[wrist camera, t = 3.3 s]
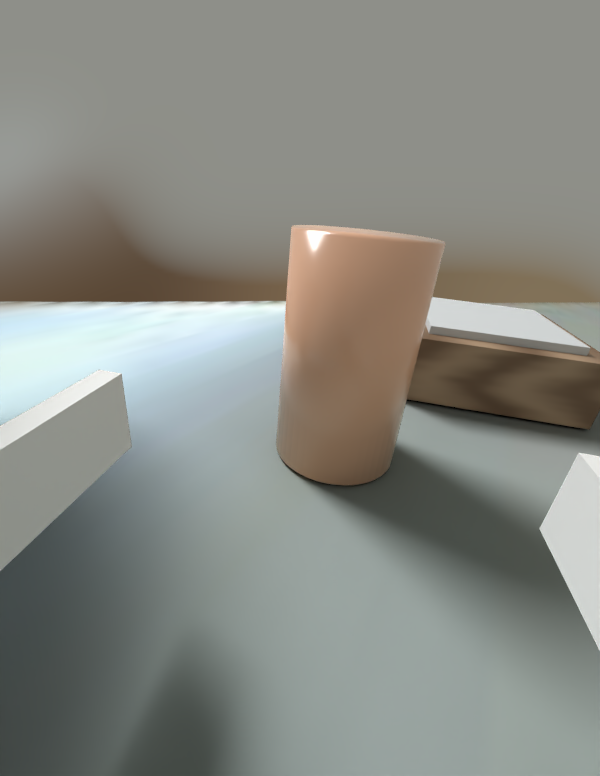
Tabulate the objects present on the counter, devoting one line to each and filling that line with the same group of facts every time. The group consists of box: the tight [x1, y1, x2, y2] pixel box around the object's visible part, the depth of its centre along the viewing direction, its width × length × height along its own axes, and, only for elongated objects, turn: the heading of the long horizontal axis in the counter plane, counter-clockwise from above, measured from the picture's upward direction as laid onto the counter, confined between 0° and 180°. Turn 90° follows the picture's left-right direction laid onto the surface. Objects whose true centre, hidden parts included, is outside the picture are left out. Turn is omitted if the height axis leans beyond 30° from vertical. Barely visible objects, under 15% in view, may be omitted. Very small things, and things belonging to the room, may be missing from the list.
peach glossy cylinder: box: [276, 225, 445, 485], centre depth 20 cm, size 7×7×12 cm
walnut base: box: [407, 297, 600, 430], centre depth 33 cm, size 14×14×6 cm
